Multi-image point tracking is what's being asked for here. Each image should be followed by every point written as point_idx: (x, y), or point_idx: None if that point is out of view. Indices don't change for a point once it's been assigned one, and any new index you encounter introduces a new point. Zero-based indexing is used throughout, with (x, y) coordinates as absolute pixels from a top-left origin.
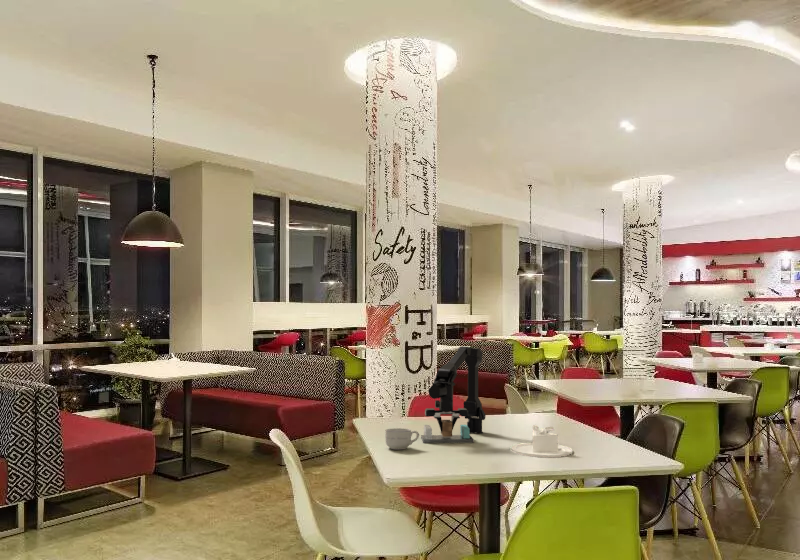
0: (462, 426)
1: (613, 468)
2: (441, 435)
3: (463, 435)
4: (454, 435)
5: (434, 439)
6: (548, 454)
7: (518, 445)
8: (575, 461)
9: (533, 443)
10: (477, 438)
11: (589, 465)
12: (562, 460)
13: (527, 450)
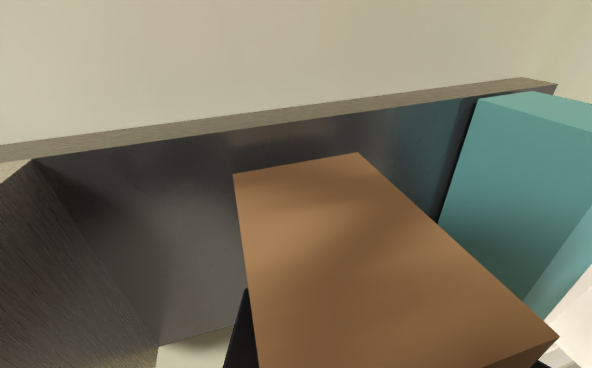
0: (542, 278)
1: (569, 363)
2: (240, 160)
3: None
4: (397, 137)
5: (184, 338)
6: (550, 349)
7: (579, 283)
8: (559, 351)
9: (577, 360)
10: (576, 72)
11: (553, 364)
12: (543, 354)
13: (552, 313)
